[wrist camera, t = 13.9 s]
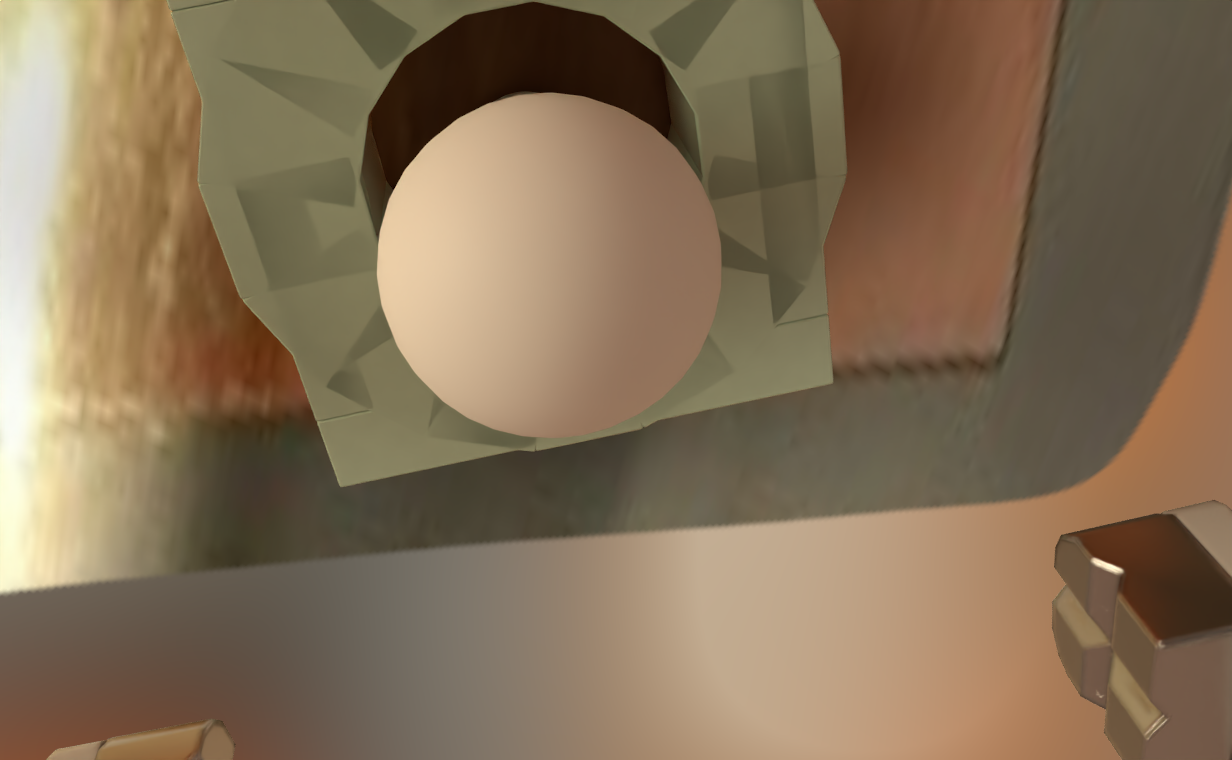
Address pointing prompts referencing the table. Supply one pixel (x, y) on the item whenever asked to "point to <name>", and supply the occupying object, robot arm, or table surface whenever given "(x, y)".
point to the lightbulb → (549, 265)
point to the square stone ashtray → (358, 191)
